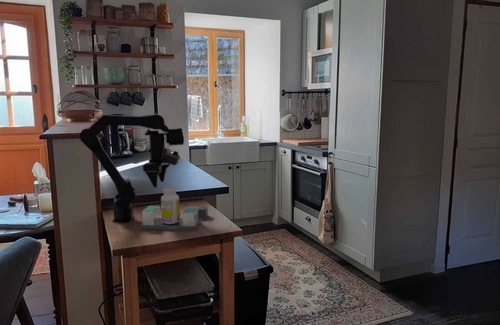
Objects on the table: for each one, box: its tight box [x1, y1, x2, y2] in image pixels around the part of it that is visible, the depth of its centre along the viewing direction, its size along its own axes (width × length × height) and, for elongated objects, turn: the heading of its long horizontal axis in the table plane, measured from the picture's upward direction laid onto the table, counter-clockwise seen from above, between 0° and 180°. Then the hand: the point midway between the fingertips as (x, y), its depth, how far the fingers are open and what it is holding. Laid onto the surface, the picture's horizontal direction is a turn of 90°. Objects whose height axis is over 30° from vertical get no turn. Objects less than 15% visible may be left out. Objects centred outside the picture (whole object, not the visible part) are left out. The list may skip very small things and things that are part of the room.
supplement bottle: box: [160, 186, 181, 224], centre depth 143 cm, size 7×7×13 cm
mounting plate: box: [140, 205, 201, 232], centre depth 144 cm, size 20×9×7 cm, turn 86°
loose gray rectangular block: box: [194, 206, 209, 220], centre depth 154 cm, size 5×4×4 cm
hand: (158, 184), depth 154 cm, fingers open, 9 cm apart
